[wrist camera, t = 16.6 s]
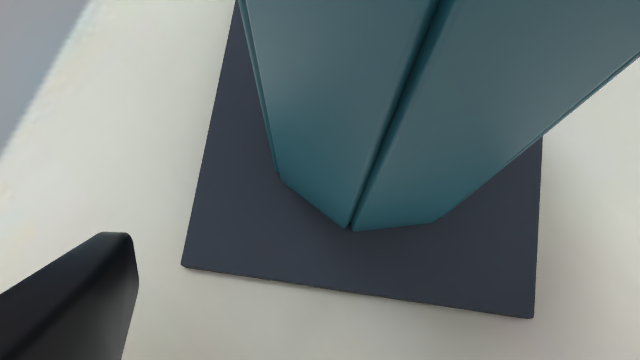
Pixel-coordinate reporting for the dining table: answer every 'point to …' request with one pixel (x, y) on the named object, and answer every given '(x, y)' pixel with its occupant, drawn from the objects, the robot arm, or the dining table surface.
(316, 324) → the dining table surface
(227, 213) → the mat
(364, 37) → the tube
